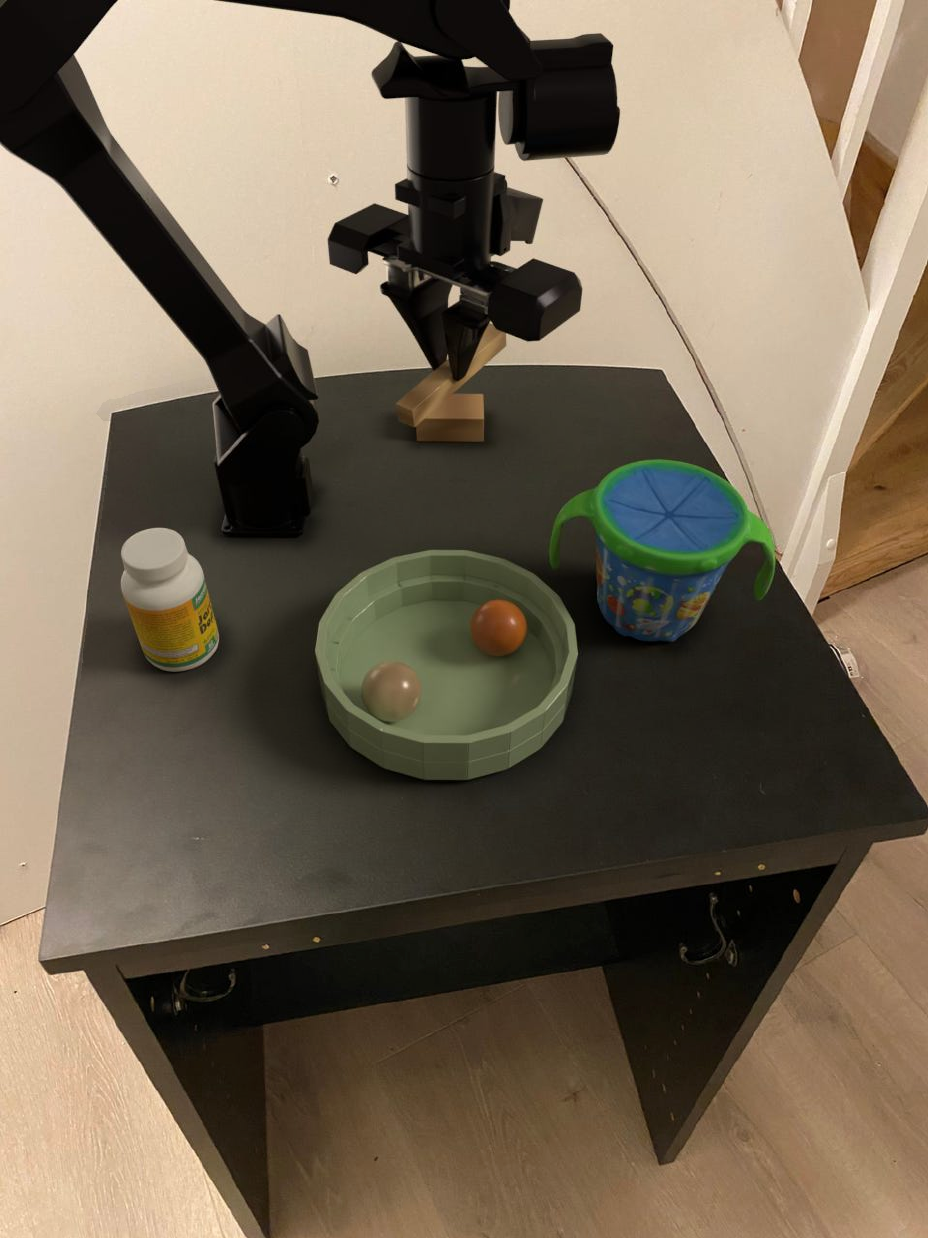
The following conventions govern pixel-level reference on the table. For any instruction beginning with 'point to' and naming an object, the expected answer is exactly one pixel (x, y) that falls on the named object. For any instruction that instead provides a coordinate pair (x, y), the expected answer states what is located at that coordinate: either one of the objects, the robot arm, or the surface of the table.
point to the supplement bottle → (168, 600)
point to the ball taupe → (391, 691)
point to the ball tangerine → (498, 627)
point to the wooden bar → (446, 380)
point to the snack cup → (663, 544)
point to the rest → (455, 420)
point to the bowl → (447, 664)
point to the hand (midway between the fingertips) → (449, 374)
